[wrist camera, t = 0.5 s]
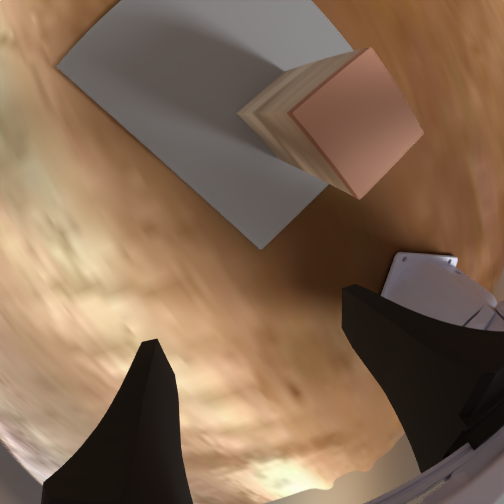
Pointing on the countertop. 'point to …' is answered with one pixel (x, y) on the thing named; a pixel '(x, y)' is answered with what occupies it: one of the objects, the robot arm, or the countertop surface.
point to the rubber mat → (207, 94)
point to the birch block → (336, 120)
